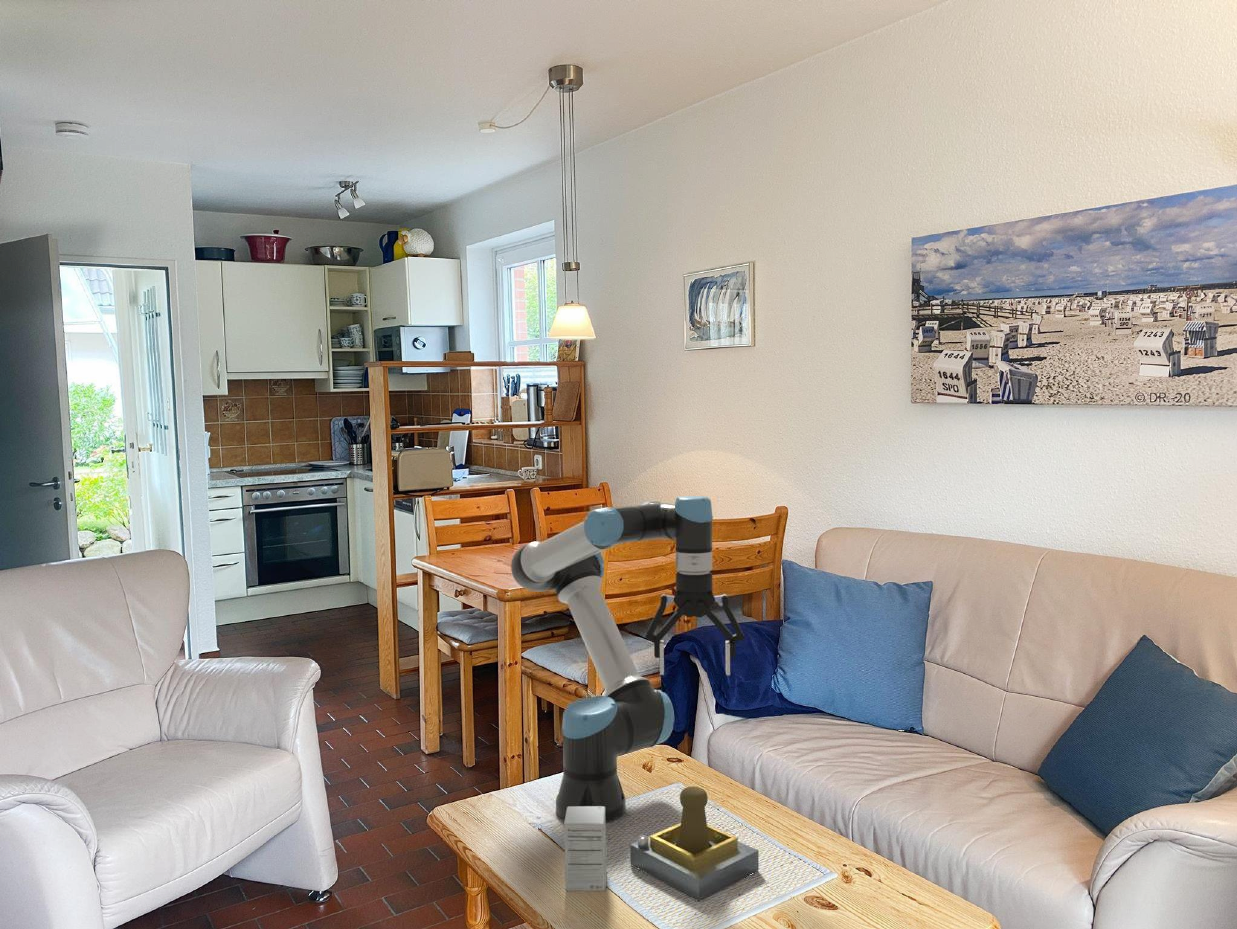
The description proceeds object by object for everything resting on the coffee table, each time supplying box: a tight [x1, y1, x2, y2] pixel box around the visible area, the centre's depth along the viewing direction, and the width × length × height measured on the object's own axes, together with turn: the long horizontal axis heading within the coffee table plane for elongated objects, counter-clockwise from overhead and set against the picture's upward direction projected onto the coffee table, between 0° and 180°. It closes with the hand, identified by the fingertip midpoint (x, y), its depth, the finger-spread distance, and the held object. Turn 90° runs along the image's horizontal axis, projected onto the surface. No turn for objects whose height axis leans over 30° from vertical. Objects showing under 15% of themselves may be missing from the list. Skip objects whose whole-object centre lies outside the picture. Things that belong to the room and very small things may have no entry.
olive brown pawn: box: [678, 785, 710, 854], centre depth 173 cm, size 6×6×11 cm
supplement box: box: [563, 806, 607, 892], centre depth 168 cm, size 7×7×13 cm
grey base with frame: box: [629, 822, 760, 903], centre depth 173 cm, size 18×16×6 cm
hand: (694, 673), depth 190 cm, fingers open, 13 cm apart
